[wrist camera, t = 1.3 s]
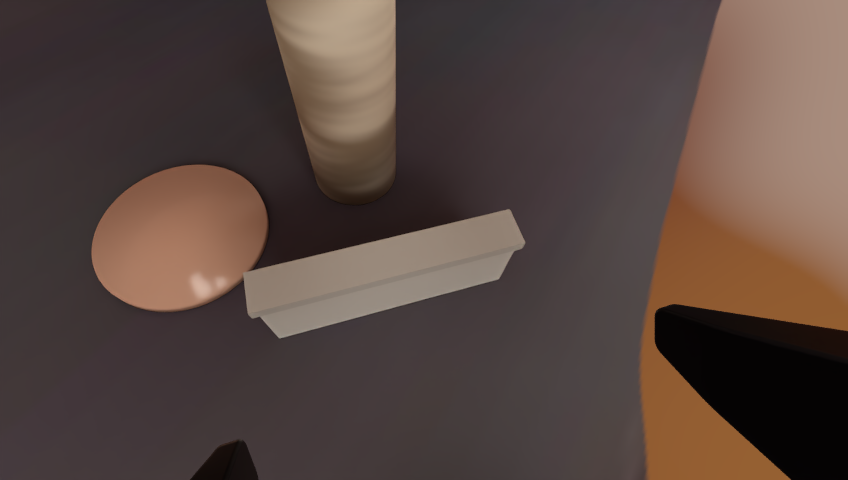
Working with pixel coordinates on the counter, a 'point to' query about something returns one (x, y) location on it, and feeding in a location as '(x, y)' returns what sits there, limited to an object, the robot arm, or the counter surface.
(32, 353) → the counter surface
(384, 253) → the off-white long flat block
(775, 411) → the robot arm
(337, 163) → the ash post
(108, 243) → the terracotta coaster
